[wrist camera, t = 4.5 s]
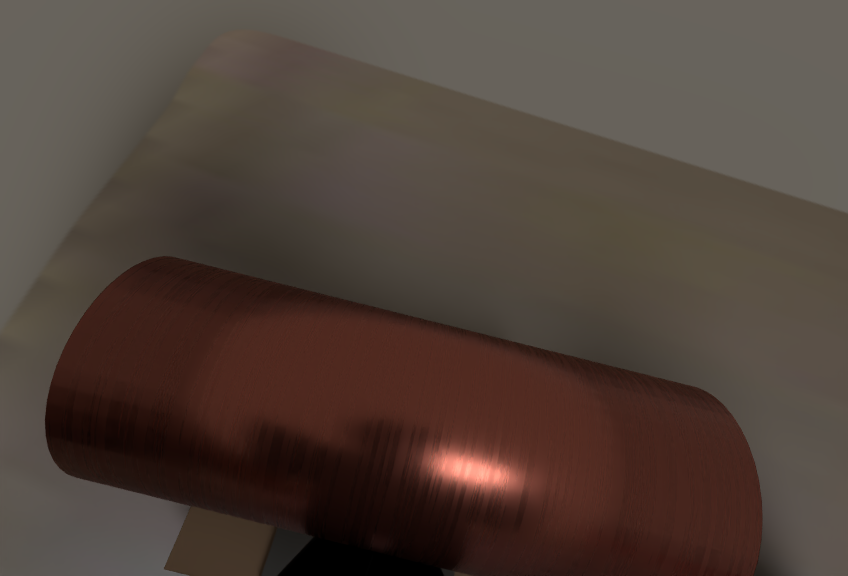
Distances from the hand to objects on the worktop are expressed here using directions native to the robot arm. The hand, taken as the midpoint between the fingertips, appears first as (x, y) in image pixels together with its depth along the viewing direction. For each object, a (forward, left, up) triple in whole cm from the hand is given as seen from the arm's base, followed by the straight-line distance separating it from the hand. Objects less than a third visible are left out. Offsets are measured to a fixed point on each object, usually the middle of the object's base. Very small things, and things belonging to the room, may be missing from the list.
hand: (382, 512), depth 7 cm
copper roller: (+1, +1, -6) cm, 7 cm away
